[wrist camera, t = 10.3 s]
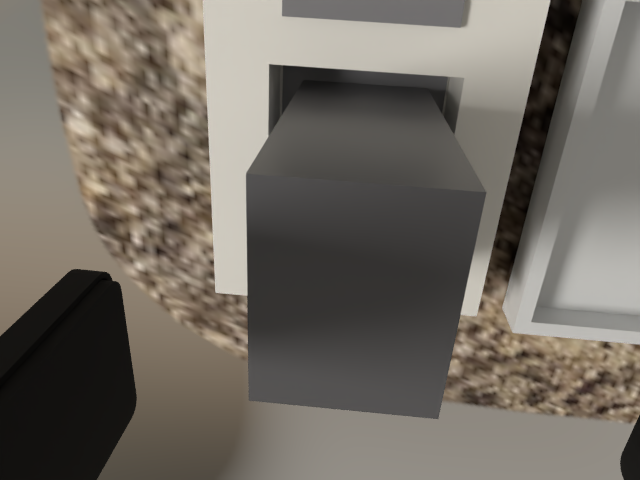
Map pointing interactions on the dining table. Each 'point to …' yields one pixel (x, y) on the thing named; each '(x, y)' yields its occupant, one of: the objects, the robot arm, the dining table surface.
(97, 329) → the robot arm
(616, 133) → the tray
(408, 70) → the power strip
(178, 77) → the dining table surface
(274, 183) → the plug
